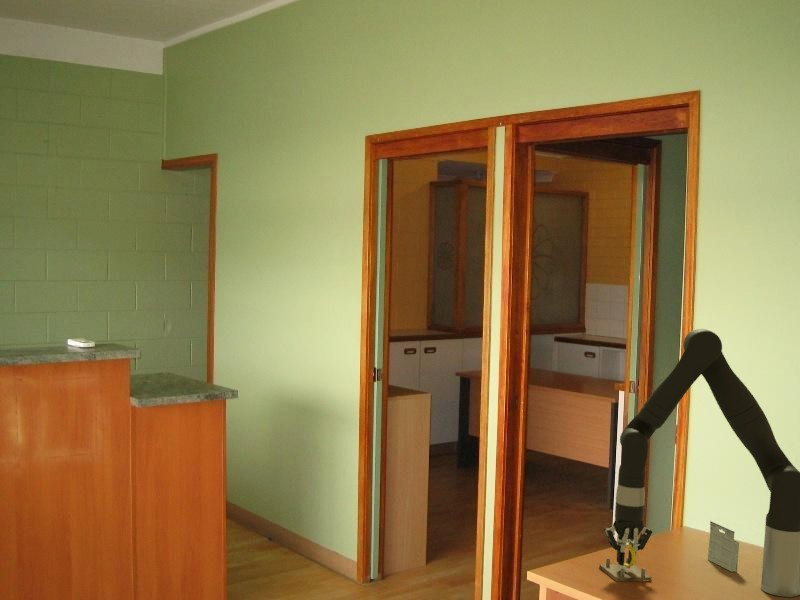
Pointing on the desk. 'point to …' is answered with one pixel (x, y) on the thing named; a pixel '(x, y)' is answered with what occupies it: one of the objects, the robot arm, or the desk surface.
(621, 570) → the pin plate
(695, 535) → the desk surface
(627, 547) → the watch
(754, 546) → the desk surface
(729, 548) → the ink box
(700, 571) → the desk surface
